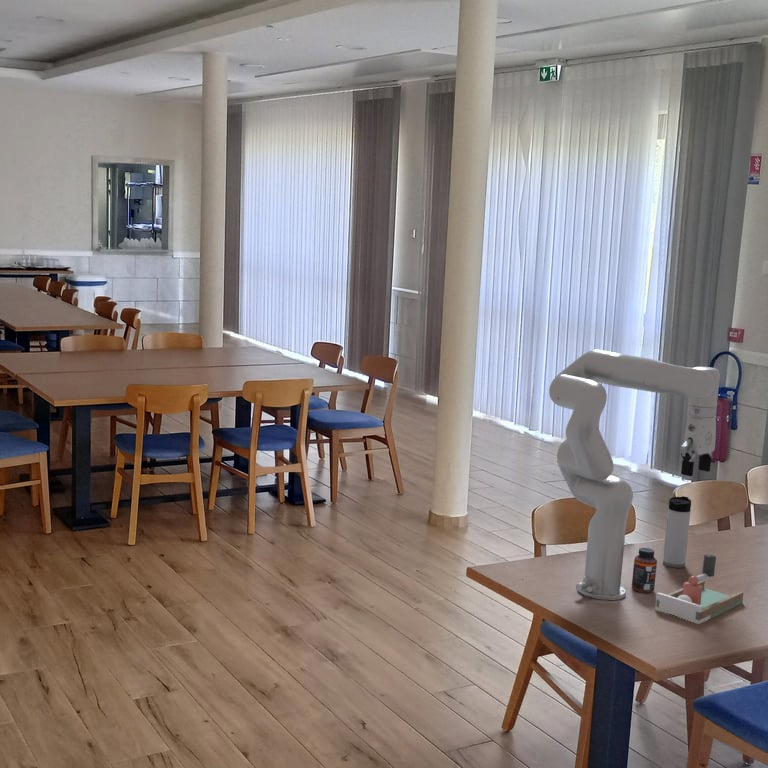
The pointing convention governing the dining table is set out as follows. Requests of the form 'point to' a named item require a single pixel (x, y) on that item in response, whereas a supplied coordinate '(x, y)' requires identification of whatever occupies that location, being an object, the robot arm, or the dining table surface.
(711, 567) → the kicker rod
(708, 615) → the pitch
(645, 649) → the dining table surface
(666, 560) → the travel mug
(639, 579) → the supplement bottle
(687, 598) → the ball
